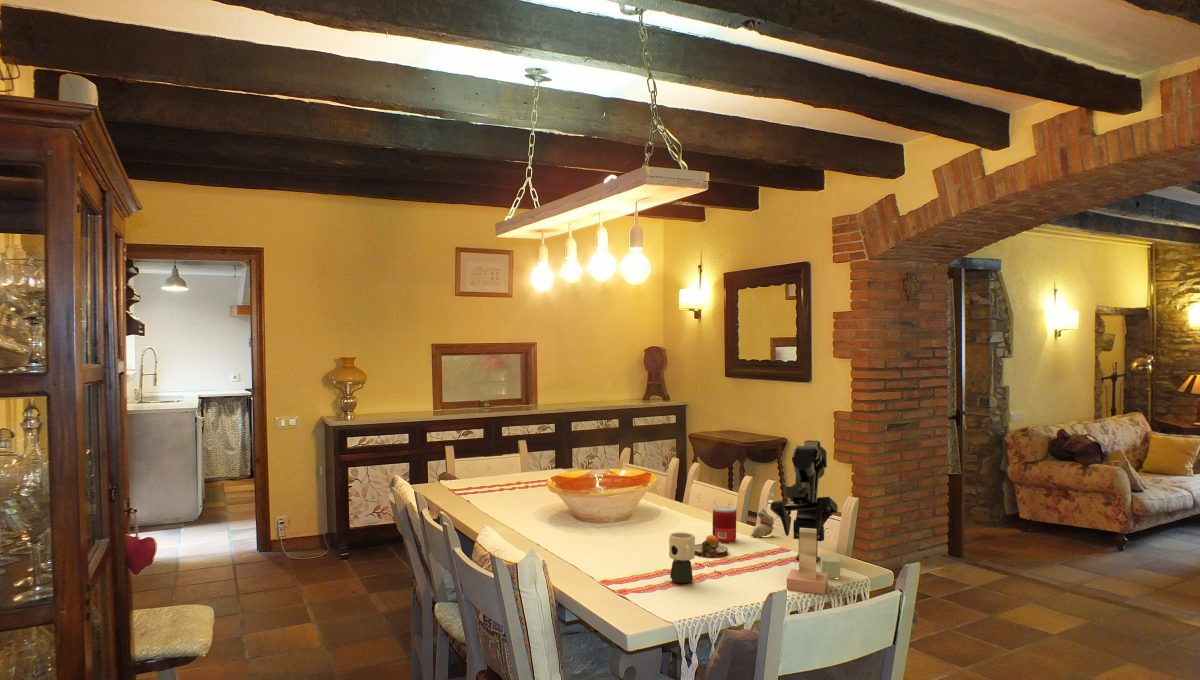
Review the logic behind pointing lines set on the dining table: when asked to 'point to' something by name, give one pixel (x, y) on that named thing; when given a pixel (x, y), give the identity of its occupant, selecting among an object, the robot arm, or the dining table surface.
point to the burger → (711, 548)
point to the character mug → (681, 556)
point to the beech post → (807, 553)
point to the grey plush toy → (763, 524)
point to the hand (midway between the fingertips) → (801, 534)
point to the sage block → (830, 566)
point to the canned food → (724, 523)
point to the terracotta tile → (807, 582)
